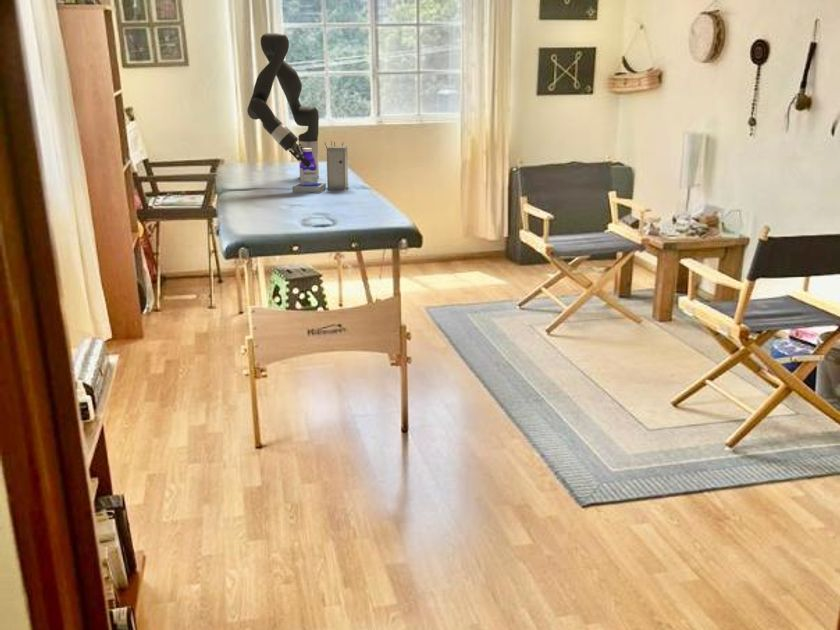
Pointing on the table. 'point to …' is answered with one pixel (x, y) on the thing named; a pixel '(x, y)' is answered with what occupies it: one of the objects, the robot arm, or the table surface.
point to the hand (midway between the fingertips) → (311, 164)
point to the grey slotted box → (337, 167)
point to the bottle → (308, 170)
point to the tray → (308, 188)
